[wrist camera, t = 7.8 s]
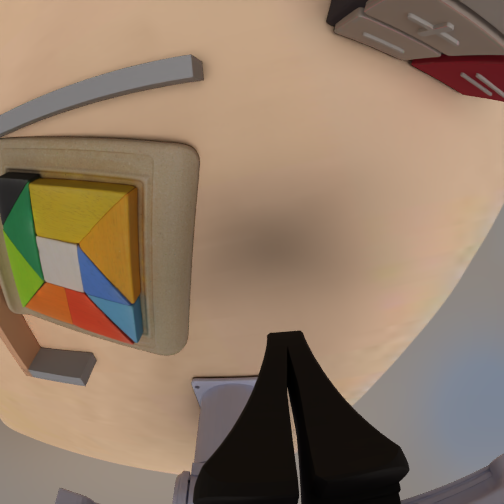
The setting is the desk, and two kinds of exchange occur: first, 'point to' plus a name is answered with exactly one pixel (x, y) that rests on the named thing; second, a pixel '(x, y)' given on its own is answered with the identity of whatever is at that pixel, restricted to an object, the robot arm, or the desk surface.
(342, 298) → the desk surface
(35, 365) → the bay
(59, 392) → the desk surface
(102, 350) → the desk surface
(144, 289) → the wooden puzzle
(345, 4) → the grey and red box
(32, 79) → the desk surface
